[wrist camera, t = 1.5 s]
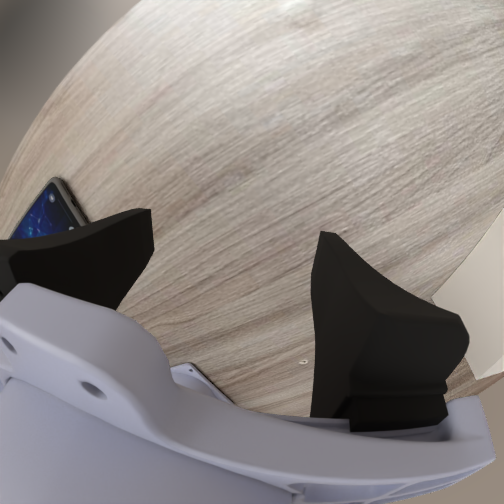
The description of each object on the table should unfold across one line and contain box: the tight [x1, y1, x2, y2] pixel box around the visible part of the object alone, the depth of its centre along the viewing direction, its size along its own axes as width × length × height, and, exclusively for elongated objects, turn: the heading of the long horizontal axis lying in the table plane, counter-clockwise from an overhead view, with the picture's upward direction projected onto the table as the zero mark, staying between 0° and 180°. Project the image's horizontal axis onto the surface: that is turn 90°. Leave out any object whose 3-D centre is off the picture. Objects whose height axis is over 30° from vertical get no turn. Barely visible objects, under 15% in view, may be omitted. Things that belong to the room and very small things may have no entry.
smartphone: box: [8, 177, 88, 240], centre depth 24 cm, size 7×1×15 cm
